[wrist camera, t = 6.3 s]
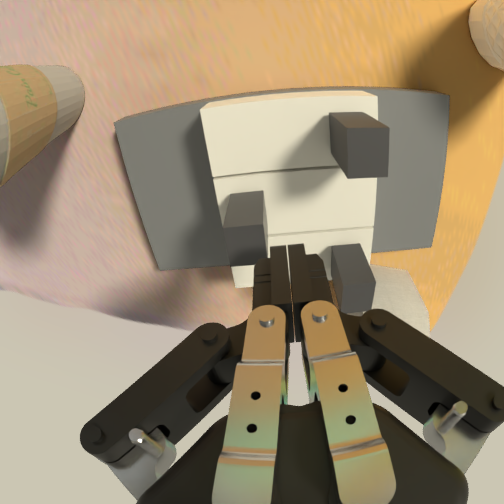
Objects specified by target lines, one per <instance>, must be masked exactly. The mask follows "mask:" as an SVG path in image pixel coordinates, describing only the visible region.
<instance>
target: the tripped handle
mask: <svg viewBox="0 0 504 504" xmlns="http://www.w3.org/2000/svg"><path fill="white" fill-rule="evenodd" d="M222 229H223V234H224V239H225V243H226V248H227V253H228V257H229V262H230V267H235V266H248V265H255V264H256V263H257V261H258V260H259V259H263V258H268V224H267V215H266V207H265V199H264V191H263V190H262V191H252V192H242V193H233V194H230V197H229V201H228V205H227V210H226V214H225V218H224V223H223V227H222Z"/></svg>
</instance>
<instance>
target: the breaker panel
mask: <svg viewBox="0 0 504 504" xmlns="http://www.w3.org/2000/svg"><path fill="white" fill-rule="evenodd" d="M114 126H115V130H116V134H117V138H118V142H119V145H120V149H121V153H122V156H123V160H124V163H125V167H126V170H127V174H128V177H129V180H130V184H131V187H132V190H133V194H134V197H135V200H136V203H137V206H138V209H139V212H140V215H141V218H142V221H143V224H144V227H145V230H146V233H147V236H148V239H149V242H150V245H151V247H152V250H153V253H154V256H155V259H156V261H157V264H158V267H159V269H160V271H162V270H175V269H188V268H201V267H214V266H227V265H230V262H229V257H228V253H227V248H226V243H225V239H224V234H223V229H222V227H223V223H224V218H225V214H226V210H227V205H228V201H229V197H230V194H233V193H242V192H252V191H262V190H263V191H264V199H265V207H266V215H267V224H268V258H270V246H280V245H286V249H287V259H288V268H289V258H288V246H287V245H291V244H301V243H304V247H305V253H306V254H317V255H318V256H319V257H320V258H321V259H322V260H323V262H324V266H325V270H326V274H327V279H328V280H332V281H333V285H334V289H335V293H336V297H337V301H338V305H339V310H340V311H341V312H343V313H345V314H348V313H357V312H365V311H368V310H371V309H372V303H373V298H374V292H375V286H376V280H375V278H374V275H373V273H372V270H371V268H370V258H371V253H377V252H388V251H398V250H409V249H419V248H429V247H431V246H432V242H433V237H434V232H435V228H436V222H437V217H438V212H439V206H440V200H441V193H442V186H443V179H444V171H445V162H446V152H447V141H448V126H449V95H446V94H443V93H440V92H436V91H427V90H417V89H404V88H388V87H355V86H342V87H308V88H291V89H278V90H267V91H258V92H249V93H241V94H234V95H227V96H220V97H214V98H208V99H202V100H197V101H191V102H186V103H181V104H176V105H172V106H167V107H163V108H158V109H154V110H150V111H146V112H142V113H138V114H134V115H131V116H127V117H124V118H122V119H120V120H118V121H116V122H114ZM254 266H255V265H248V266H235V267H231V269H232V273H233V278H234V283H235V287H236V288H243V287H253V284H254V283H253V279H254ZM289 278H290V271H289ZM290 284H291V283H290Z"/></svg>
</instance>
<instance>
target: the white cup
mask: <svg viewBox="0 0 504 504" xmlns="http://www.w3.org/2000/svg"><path fill="white" fill-rule="evenodd" d="M468 23H469V28H470V33H471V38H472V40H473V42H474V44H475V46H476V48H477V50H478V52H479V54H480V55H481V56H482V57H483V58H484V59H485V60H486V61H487V62H488V63H489V64H490V65H491V66H493V67H495V68H497V69H500V70H502V71H504V0H477V1H476V2H475V3H474V5H473V6H472V7H471V8H470V14H469V20H468Z"/></svg>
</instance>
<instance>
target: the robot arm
mask: <svg viewBox="0 0 504 504" xmlns="http://www.w3.org/2000/svg"><path fill="white" fill-rule="evenodd" d="M287 246H288V258H289V268H288V259H287V249H286V245H280V246H270V258H263V259H259V260H258V261H257V263H256V264H255V266H254V279H253V283H254V284H253V308H252V312H251V313H250V314H249V316H248V319H247V320H246V321H244V322H243V323H241V324H239V325H237V326H234V327H230V328H227V329H226V327H225V326H223V325H221V324H219V323H206V324H204V325H201V326H200V327H198V328H197V329H196V330H195V331H193V332H192V333H191V334H190V335H189V336H188V337H187V338H185V340H183V341H182V342H181V343H180V344H179V345H178V346H176V347H175V348H174V349H173V350H172V351H171V352H169V353H168V354H167V355H166V356H165V357H164V358H163V359H161V360H160V361H159V362H158V363H157V364H156V365H155V366H153V367H152V368H151V369H150V370H149V371H147V372H146V373H145V374H144V375H143V376H142V377H140V378H139V379H138V380H137V381H136V382H135V383H133V384H132V385H131V386H130V387H129V388H128V389H126V390H125V391H124V392H123V393H122V394H120V395H119V396H118V397H117V398H116V399H115V400H113V401H112V402H111V403H110V404H109V405H108V406H106V407H105V408H104V409H103V410H101V411H100V412H99V413H98V414H97V415H96V416H94V417H93V418H92V419H91V420H90V421H88V422H87V423H86V424H85V425H84V427H83V428H82V430H81V433H80V441H81V445H82V447H83V448H84V449H85V450H86V451H87V452H88V453H90V454H92V455H93V456H95V457H96V458H98V459H99V460H100V461H102V462H103V463H105V464H107V465H108V466H109V468H110V469H111V470H112V471H113V473H114V474H115V475H116V476H117V477H118V479H119V480H120V481H121V482H122V484H123V485H124V486H125V487H126V488H127V489H128V490H129V492H130V493H131V494H132V495H133V496H134V497H135V498H136V500H137V503H136V504H467V500H468V483H467V480H466V477H465V475H464V474H465V473H466V471H467V470H468V468H469V467H470V465H471V463H472V462H473V461H474V459H475V457H476V456H477V454H478V453H479V451H480V449H481V448H482V446H483V444H484V443H485V441H486V439H487V438H488V436H489V434H490V433H491V432H492V431H494V430H495V429H496V428H497V427H498V426H499V425H501V424H502V423H503V422H504V387H503V386H502V385H500V384H499V383H497V382H496V381H494V380H493V379H491V378H490V377H488V376H487V375H485V374H484V373H482V372H481V371H479V370H478V369H476V368H475V367H473V366H472V365H470V364H469V363H467V362H466V361H464V360H463V359H461V358H460V357H458V356H457V355H455V354H454V353H452V352H451V351H449V350H448V349H446V348H445V347H443V346H441V345H440V344H439V343H437V342H435V341H434V340H432V339H431V338H429V337H428V336H426V335H425V334H423V333H422V332H420V331H418V330H417V329H415V328H414V327H412V326H411V325H409V324H408V323H406V322H404V321H403V320H401V319H400V318H398V317H397V316H395V315H393V314H392V313H390V312H389V311H387V310H384V309H378V308H377V309H371V310H368V311H366V312H365V313H364V314H363V315H362V316H354V315H348V314H345V313H343V312H341V311H340V310H338V309H337V308H336V307H335V305H334V303H333V300H332V296H331V291H330V287H329V283H328V279H327V274H326V270H325V266H324V262H323V260H322V259H321V258H320V257H319V256H318V255H317V254H306V253H305V247H304V243H301V244H291V245H287ZM289 271H290V278H289ZM290 283H291V288H290ZM291 293H292V299H291ZM292 304H293V312H292ZM293 315H294V326H295V337H296V342H301V346H302V360H303V366H304V372H305V377H306V383H307V389H308V394H309V404H306V405H303V406H293V405H288V404H287V399H288V374H289V356H290V343H293V342H294V329H293ZM366 382H367V383H368V384H370V385H371V386H372V387H374V388H375V389H376V390H378V391H379V392H380V393H382V394H383V395H384V396H385V397H387V398H388V399H389V400H391V401H392V402H394V403H395V404H396V405H398V406H399V407H400V408H401V409H403V410H404V411H405V412H407V413H408V414H409V415H411V416H412V417H413V418H415V419H416V420H418V421H419V422H420V423H422V424H423V425H424V427H423V435H424V438H425V440H426V441H427V442H428V443H429V444H430V445H431V446H430V445H429V444H428V443H426V442H425V441H424V440H423V439H422V438H420V437H419V436H418V435H417V434H415V433H414V432H413V431H412V430H411V429H409V428H408V427H407V426H406V425H404V424H403V423H402V422H401V421H400V420H398V419H397V418H396V417H395V416H393V415H392V414H391V413H390V412H389V411H387V410H386V409H384V408H383V407H381V406H379V405H377V404H374V403H372V401H371V398H370V394H369V391H368V387H367V384H366ZM231 390H232V395H231V401H230V408H229V414H228V415H226V416H224V417H223V418H221V419H219V420H218V421H217V422H215V423H214V424H213V425H212V426H211V427H210V428H209V429H208V430H207V431H206V432H205V433H204V434H203V435H202V436H201V438H200V439H199V440H198V441H197V442H196V443H195V444H194V445H193V446H192V447H191V448H190V449H189V450H188V451H187V452H186V453H185V454H184V455H183V456H182V457H181V458H180V459H179V460H178V461H177V462H176V463H175V464H174V465H173V466H172V467H171V468H170V469H169V467H170V466H171V464H172V463H173V462H174V460H175V458H176V448H175V444H177V443H178V442H179V441H180V440H181V439H182V438H183V437H184V436H185V435H186V434H187V433H188V432H189V431H190V430H191V429H193V428H194V427H195V426H196V424H198V423H199V422H200V421H201V420H202V419H203V418H204V417H205V416H206V415H207V414H208V413H209V412H210V411H211V410H212V409H213V408H214V407H215V406H216V405H217V404H218V403H219V402H220V401H221V400H222V399H223V398H224V397H225V396H226V395H227V394H228V393H229V392H230V391H231Z"/></svg>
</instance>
